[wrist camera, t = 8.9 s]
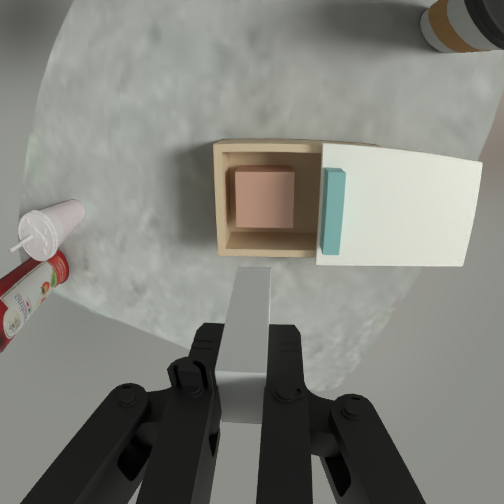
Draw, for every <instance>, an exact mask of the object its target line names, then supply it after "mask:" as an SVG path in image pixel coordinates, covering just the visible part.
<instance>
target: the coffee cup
mask: <svg viewBox="0 0 504 504" xmlns="http://www.w3.org/2000/svg"><path fill="white" fill-rule="evenodd" d="M420 26H421V31H422V34H423V36H424V37H425V39H426V40H427V42H428V43H429V44H430V45H431V46H433V47H434V48H435V49H437V50H439V51H441V52H444V53H465V52H480V51H491V50H504V0H438V1H437V2H436V3H434V4H433V5H432V6H430V8H429V9H427V10H426V11H425V12H424V13H423V14H422V16H421V20H420Z"/></svg>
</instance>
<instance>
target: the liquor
mask: <svg viewBox="0 0 504 504" xmlns="http://www.w3.org/2000/svg"><path fill="white" fill-rule="evenodd" d="M68 276H69V267H68V263H67V261H66V258H65V256H64V255H63V253H62V252H61V251H60V250H58V249H57V251H56V253H55V255H54V256H53V257H51V258H49V259H48V260H46V261H38V260H35V259H33V258H32V257H31V258H29V259H28V260H27V261H25V262H24V263H22V264H21V265H20V266H18V267H17V268H16V269H14V270H13V271H11V272H10V273H9V274H7V275H6V276H4V277H3V278H1V279H0V353H1V352H2V351H3V350H4V349H5V348H6V346H7V345H8V344H9V342H10V341H11V340H12V339H13V337H14V336H15V335H16V334H17V332H18V331H19V330H20V329H21V328H22V326H23V325H24V324H25V322H26V321H27V320H28V318H29V317H30V316H31V315H32V313H33V312H34V311H35V309H36V308H37V307H38V306H39V305H40V304H41V303H42V302H43V300H44V299H45V298H46V297H47V296H48V295H49V294H50V293H51V292H52V291H53V290H54V288H55V287H56V286H57V285H58V284H61V283H64V282H65V281H66V280H67V279H68Z"/></svg>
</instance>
